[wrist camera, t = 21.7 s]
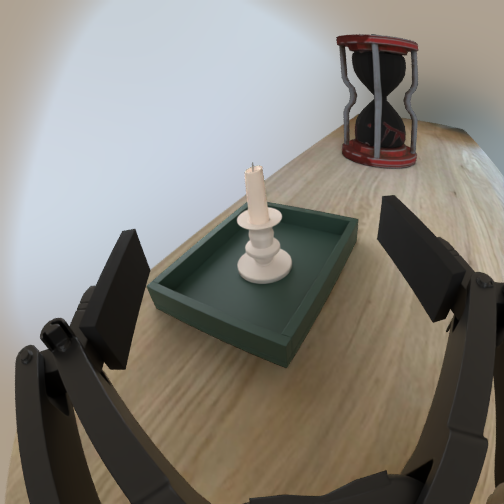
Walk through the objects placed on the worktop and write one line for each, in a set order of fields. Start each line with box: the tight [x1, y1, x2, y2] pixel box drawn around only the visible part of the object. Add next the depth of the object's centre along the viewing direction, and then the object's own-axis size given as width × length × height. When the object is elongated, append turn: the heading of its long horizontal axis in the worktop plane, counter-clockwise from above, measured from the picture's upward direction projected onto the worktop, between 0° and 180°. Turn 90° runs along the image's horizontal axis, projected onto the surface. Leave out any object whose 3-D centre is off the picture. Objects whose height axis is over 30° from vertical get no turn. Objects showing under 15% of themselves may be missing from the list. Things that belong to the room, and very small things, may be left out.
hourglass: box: [336, 34, 418, 168], centre depth 48 cm, size 16×16×25 cm
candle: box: [237, 163, 292, 284], centre depth 25 cm, size 5×5×10 cm
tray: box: [147, 202, 358, 368], centre depth 28 cm, size 18×14×3 cm
